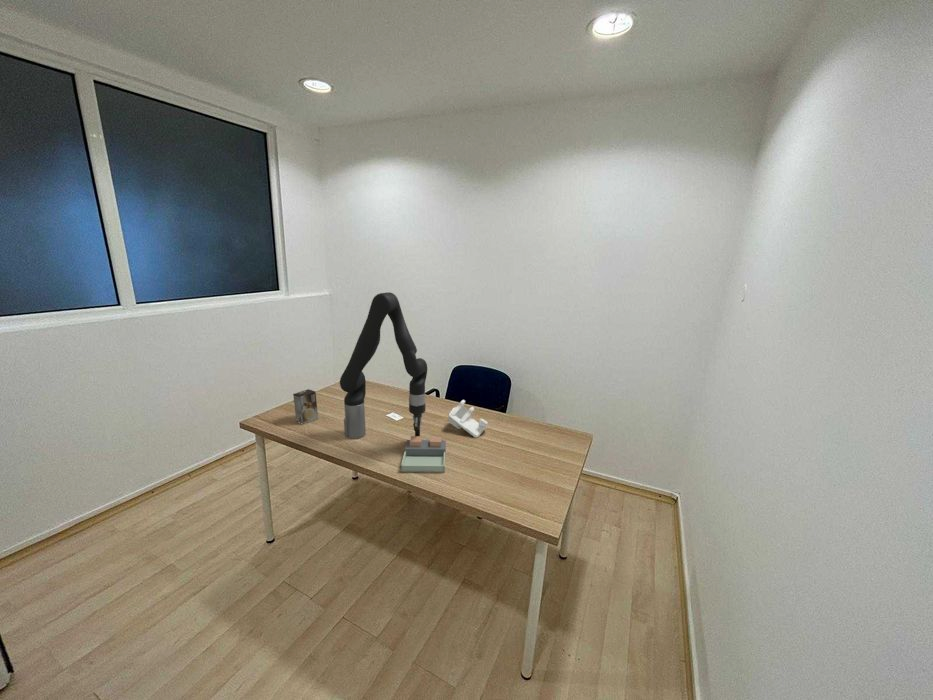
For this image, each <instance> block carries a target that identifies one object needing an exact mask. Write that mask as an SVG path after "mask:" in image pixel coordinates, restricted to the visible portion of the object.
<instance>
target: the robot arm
mask: <svg viewBox="0 0 933 700" xmlns="http://www.w3.org/2000/svg"><path fill="white" fill-rule="evenodd" d="M387 315H388V317H389V319H390V321H391V325H392V326H393V333H394V340H395V342H396V344H397V347H398V349H399V351H400V353H401V356H402V360H403V365H404V369H405V371H406V373H407V374H408V375H409V376H410V377H411V380H410V381H409V388H408V391H409V392H408V393H409V396H408V411H409V413H410V414H411V415H412V421H413V424H412V425H413V426H412V427H413V430H414V436H421V426H422V419H423V418H422V417H423V414H424V413H425V412H426V411H427V410H426V409H427V408H426V403H427V402H426V380H427V376H428V375H427V374H428V363H427V361H426V360H425V359H424V358H420V357H419V358H417V355H416V354H417V352H418V348H417V346H416V344H415V342H414V340H413V338H412V336H411V334H410V333H411V332H410V331H409V328H408V326H407V323H406V321H405V318H404V315H403V310H402V308H401V304H400V301H399V299H398V297H397V295H396V294H395V293H393V292H380V293H377V294H376V295H375V296H373V298H372V300H371V304H370V306H369V310H368V314H367V317H366V319H365V321H364V322H365V323H364V325H363V326H362V329H361V332H360V334H359V336H358V339H357V342H356V343H355V345H354V348H353V351H352V354H351V356H350V359H349V361H348V363H347V366H346V367H345V369H344V371H343V373H342V374H341V376H340V378H339V386H340V389H341V390H342V391H344V392H346V395H345V396H344V399H343V402H344V419H343V426H344V427H343V428H344V438H348V439H351V440H356V439H360V438H363V437H364V436H366V434H367V433H366V432H367V430H366V413H365V398H366V389H367V388H366V386H367V385H366V376H365V374H364V372H363V370H364V368H365V367H366V366H367V365H368V363H369V362H370V361H371V360H372V359H373V357H374V355H375V353H376V351H377V349H378V347H379V344H380V341H381V328H382V325H383V322H384V320H385V319H386V317H387Z"/></svg>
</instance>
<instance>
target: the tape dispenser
mask: <svg viewBox="0 0 933 700" xmlns="http://www.w3.org/2000/svg"><path fill="white" fill-rule="evenodd" d="M465 403H466V400H465V399H462V400H461V401H460V402H459V404H458V405H457V406H454V407H453V408H452V409H451V410H450V412H449V413H448V418H449V419H447V422H448V423H449V424H451V425H452V426H454V427H455V428H456V429H458V430H461V429H463V430H464V431H466V432H467V433H468V434H470V435H471V436H473V438H475V439H476V438H477V439H478V438H479V436H481V434H482V433H483V432H484V431H485V430H486V428H487V426H488V425H489V422H488V421H486V420H485V419H483V418H480V419H478V420H479V422H478V421H477V420H476V419H474V418H471V417H470V416H471V414H472V413H473V412H474V410H475V409H476V408H475V407H474V406H471V407H469V409H467V408H466V407H465V406H464V405H465Z"/></svg>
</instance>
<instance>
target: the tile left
mask: <svg viewBox="0 0 933 700" xmlns="http://www.w3.org/2000/svg"><path fill="white" fill-rule="evenodd" d="M409 440H410V447H421V444H422V440H423V436H421V435H420V436H415V435H411V436H410V439H409Z"/></svg>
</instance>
